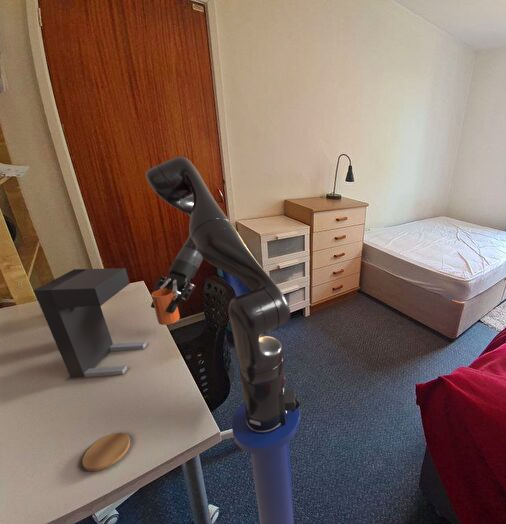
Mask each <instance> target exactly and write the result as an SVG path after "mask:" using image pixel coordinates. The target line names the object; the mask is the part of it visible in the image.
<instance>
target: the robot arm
mask: <svg viewBox="0 0 506 524" xmlns="http://www.w3.org/2000/svg"><path fill="white" fill-rule="evenodd" d="M145 178H146V181H147V182H148V184H149V186H150V187H151V189H152V190H153V191H154V193H155V194H156V195H157V197H159V198H160V199H161V200H162V201H164V202H165V203H166V204H168V205H170V206H171V207H173V208H175V209H177V210H179V211H180V212H182V213H184V214H186V215H187V216H188V217H189V223H188V237H187V239H186V241H185V243H184V244H183V246H182V247H181V249H180V250H179V251H178V253H177V255H176V257H175V258H174V260H173V262H172V263H171V265H170V267H169V269H168V272H169V274H168V275H167V276H163V275H160V276H159V277H158V278H157V280H156V283H155V285H154V287H153V290H152V293H153V292H155V291H157V290H160V289H165V288H166V289H168V290H172V292H173V301H172V300H171V302H170V304H169V306H168V308H167V310H166V312H168V313H173V312H174V311H175V310H176V308H177V306H178V307H179V305H180V304H181V303H182V302H183V303H186V302H187V301H188V299H189V298H190V296H191V294H192V293H193V291H194V290H195V289H196V285H195V284H193V283H191V282H190V281H192V280H193V279H194V277H195V276H196V274H197V272H198V270H199V268H200V266H201V264H202V263H203V260H204V261H206V262H207V263H208V264H209V265H211V266H213V267H215V268H217V269H218V270H220V271H223V272H225V273H227V274H228V275H230V276H232V277H234V278H236V279H238V280H239V281H240V282H242V283H243V284H244V285H245V286H246V288H248V289H249V290H250V291H247V292H245V293H242V294H239V295H237V296H234V297H232V298H231V299H230V301H229V303H228V308H227V309H228V310H227V312H228V313H227V314H228V319H229V324H230V329H231V333H232V338H233V343H234V344H233V345H234V350H235V352H236V356H237V360H238V367H239V374H240V382H241V389H242V397H243V402H244V405H245V412H246V423H247V426H248V428H249V429H250V430H251V431H253V432H255V433H258V434H265V433H270V432H272V431H274V430H276V429H278V428H279V427H280V426H282V425H286V417H287V410H292V411H293V412H294V411H295V410H296V409H297V408H299V407H301V400H300V399H299V398H298V397H297V395H296V388H287V377H286V374H285V367H284V366H285V364H284V349H283V345H282V343H281V341H279V339H277V338H276V337H273V336H270V335H267V334H269V333H271V332H274V331H276V330H277V329H279V328H281V327H283V326H285V325H287V324H288V323H289V322H290V319H291V309H290V308H291V307H290V305H289V303H288V302H289V301H288V300H287V298H286V297H285V295H284V294H283V292H282V291H281V289H280V288H279V286H278V285H277V284H276V283H275V282H274V280H273V279H272V278H271V276H269V274H268V273H267V272H266V270H264V269H263V267H262V266H261V264H259V262H258V261H257V259H256V258H255V257H254V255H253V254H252V252H251V251H250V249H249V248H248V247H247V245H246V244H245V242H244V240H243V239H242V237H241V236H240V234H239V232H238V231H237V229H236V228H235V227H234V225H233V224H232V222H231V221H230V219H229V218H228V217H227V215H226V214H225V212H224V211H223V210H222V208H221V207H220V205H219V204H218V202H217V201H216V200H215V198H214V195H212V192H211V190H210V189H209V188H208V186H207V184H206V183H205V181H204V179H203V177H202V176H201V173H200V172H199V171H198V169H197V168H196V166H195V165H194V164H193V162H192V161H191V160H189V158H187V157H185V156H183V155H181V156H180V155H179V156H176V157H173V158H170V159H168V160H166V161H164V162H161V163H159V164H157V165H154V166H152V167H151V168H149V169H147V171H146V172H145ZM150 308H152V309H155V308H154V304H153V301H152V302H151V304H150ZM295 402H296V403H297V404H296V405H295Z"/></svg>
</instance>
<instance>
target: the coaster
mask: <svg viewBox="0 0 506 524" xmlns="http://www.w3.org/2000/svg"><path fill="white" fill-rule="evenodd" d="M130 446H131V439H130V437H129V435H127V434H126V433H123V432H117V433H116V432H115V433H112V434H108V435H106V436H104V437H102V438H100V439H99V440H97V441H96V442H95V443H93V444H92V445H91V446H90V447H89V448H88V449H87V450H86V452H85V454H84V455H83V457H82V462H81V463H82V466H83V468H84V470H86V471H88V472H98V471H103V470H105V469H107V468H109V467H111V466H112V465H114V464H115V463H117V462H118V461H120V460H121V459H122V458H123V457H124V456H125V455H126V453H128V450H129V448H130Z"/></svg>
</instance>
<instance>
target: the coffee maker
mask: <svg viewBox="0 0 506 524" xmlns="http://www.w3.org/2000/svg"><path fill="white" fill-rule="evenodd" d="M126 269H127V268H126V267H119V268H118V267H115V268H113V267H112V268H111V267H110V268H76V269H75V268H74V269H72V270H69V271H68V272H66V273H64V274H61V276H58V277H57V278H54V279H53V280H51V281H49V282H47V283H45V284H43V285H41V286H39V287H38V288H36V289H33V293H34V295H35V297H36V300H37V303H38V304H39V307H40V309H41V312H42V314H43V316H44V319H45V321H46V323H47V325H48V329H49V330H50V333H51V336H52V337H53V340H54V342H55V344H56V347H57V350H58V352H59V354H60V356H61V359H62V361H63V364H64V367H65V368H66V370H67V373H68V376H69V377H70V379H75V378H90V377H103V376H104V377H105V376H114V375H117V376H118V375H124V374H125V373H126V371H127V370H128V367H127V365H118V366H105V367H96V366H97V365H98V364H99V363H100V362H101V361H102V360H103V359H104V358H105V357H106V356H107V355H108V354H109V353H110V352H112V351H113V352H114V351H129V350H143V349H145V348H146V347H147V345H148V344H147V342H146V341H135V342H122V343H121V342H119V343H113V340H112V336H111V334H110V331H109V328H108V325H107V322H106V319H105V315H104V313H103V310H102V307H101V306H103V305H105V303H107V302H108V301H109V300H110V299H112V298H113V297H115V296H116V295H117V294H118V293H120V291H122V290H124V289H125V288H126V287H128V286H129V285H130V279H129V276H128V272H127V270H126Z"/></svg>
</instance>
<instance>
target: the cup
mask: <svg viewBox="0 0 506 524" xmlns="http://www.w3.org/2000/svg"><path fill="white" fill-rule="evenodd" d="M159 289H160V288H159ZM159 289H158V290H157V291H155V292H153V291H152V292H151V295H150V296H151V300H152V302H153V304H154V308H153V309H154V311H155V315H156V319H157V323H158V325H162V326H167V325H168V326H169V325H173V324H174V323H177V322H178V321H179V320H180V318H181V316H180V311H179V305H178V306H177V308H176V310H175V311H174V312H173V313H168V312H166V310H167V308H168V306H169V304H170V302H171V300H172V301H173V292H172V290H168V289H166V288H165V289H160V290H159Z"/></svg>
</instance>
